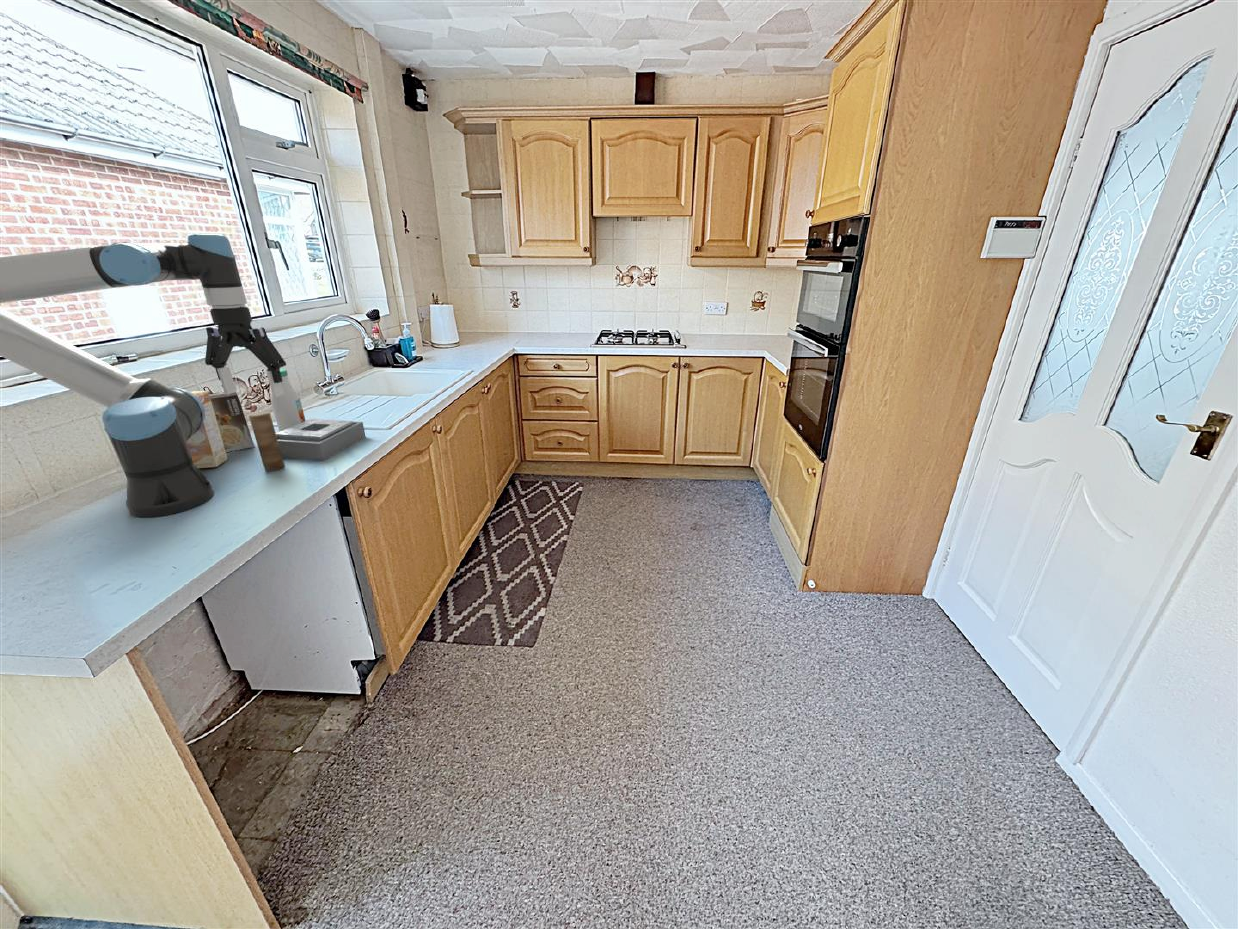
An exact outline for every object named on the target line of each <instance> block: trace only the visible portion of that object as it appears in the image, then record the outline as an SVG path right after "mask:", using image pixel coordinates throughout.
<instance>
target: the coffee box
mask: <svg viewBox="0 0 1238 929" xmlns="http://www.w3.org/2000/svg"><path fill="white" fill-rule="evenodd" d="M209 395H210V399H211V402H212V406H213V409H214V413H215V417H216V420H217V424H218V427H219V431H220V434H221V438H222V441H223V445H224V448H225V452H227V453H231V452H230V451H232V452H236V451H235V450H237V451H240V449H242V450H246V449H251V448H254V447H255V443H254V441H253V438H252V434H251V431H250V428H249V425H248V421H247V418H246V415H245V413H244V410H243V406H242V404H241V401H240V398H239V395H238V393H237V392H234V393H231V394H225V392H224V391H223V392H215V393H209ZM245 448H246V449H245Z"/></svg>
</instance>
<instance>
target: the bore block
mask: <svg viewBox="0 0 1238 929" xmlns="http://www.w3.org/2000/svg"><path fill="white" fill-rule="evenodd" d="M305 420H306V419H305ZM352 421H353V420H341V419H340V420H339V419H324V418H323V419H321V418H309V419H307V420H306V421H304V422H302V423H299V424H297V425H295V426H292V427H290V428H288V429H285V430H283V431H281V432H279V431H278V432H275V433H276V436H277V439H279V440H294V441H308V442H320V441H322V440H324V439H326V438H328V437H330V436H332V435H334V434H336V433H338V432H340V431H342V430H344V429H346V428H348V427H350V426H352V425H353V422H352Z"/></svg>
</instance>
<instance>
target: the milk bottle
mask: <svg viewBox="0 0 1238 929" xmlns="http://www.w3.org/2000/svg"><path fill="white" fill-rule="evenodd" d="M280 373H281V377H282V382H281V384H282V388H283V391H284V394H283V395H280V396H277V397H273V394H272V391H271V390H270V394H269V396H270V403H271V407H272V411H273V415H274V418H275V423H276V426H277V430H278V432H281V431H283V430H285V429H288V428H290V427H292V426H295V425H297V424H299V423H302V422H304V421H306V417H305V413H304V409H303V405H302V402H301V398H300V396H299V393H298V391H297V389H296V388H295V387H294V386H293V384H292V383H291V382H290V379H289V376H288V375H289V374H288V370H287V369H284V368H280Z"/></svg>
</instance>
